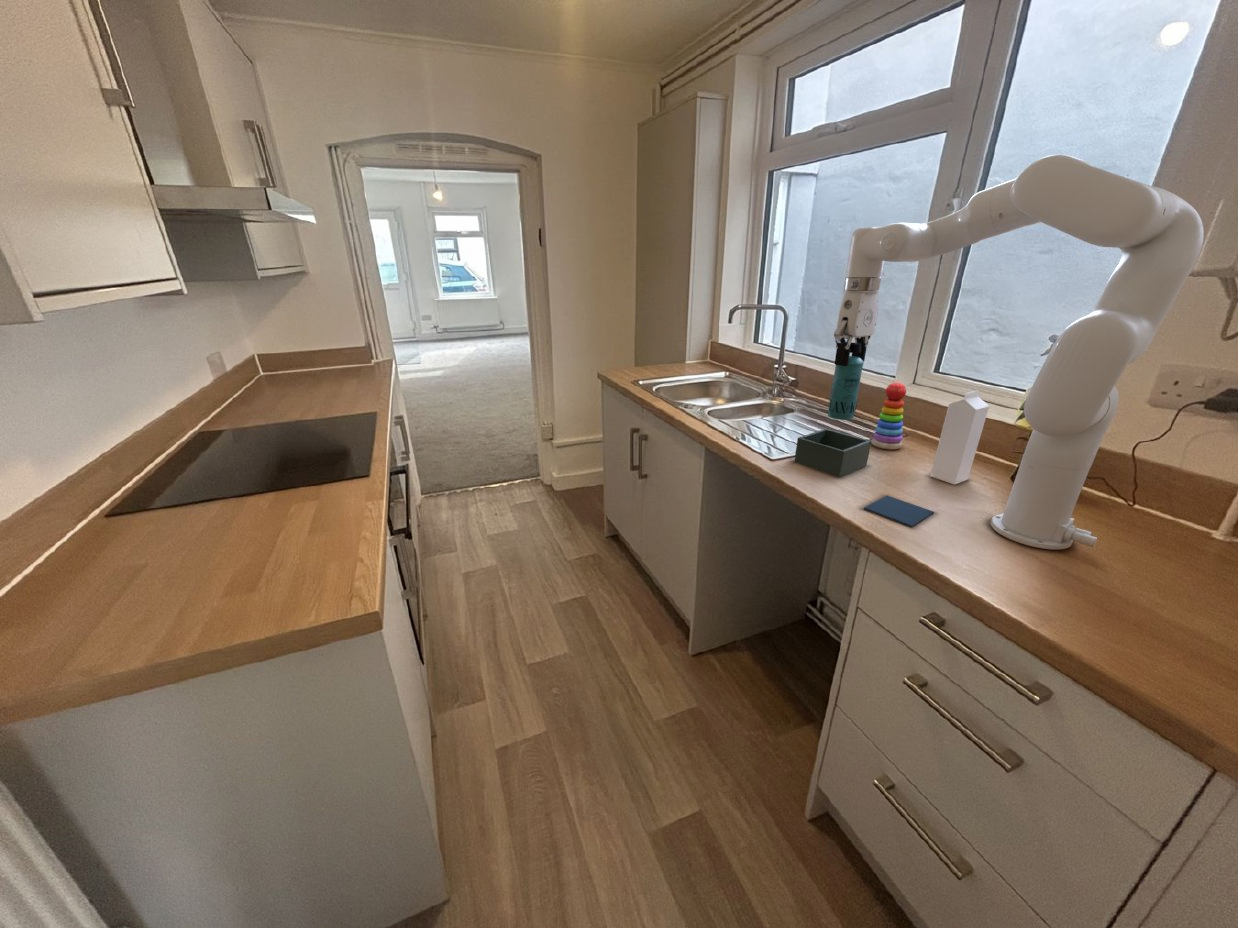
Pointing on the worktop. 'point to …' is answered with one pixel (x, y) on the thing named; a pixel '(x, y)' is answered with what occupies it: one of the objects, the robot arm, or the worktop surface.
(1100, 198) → the robot arm
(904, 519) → the mat
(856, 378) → the beverage bottle
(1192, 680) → the worktop surface
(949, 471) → the milk
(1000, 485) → the worktop surface
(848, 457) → the basket
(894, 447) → the stacking toy
